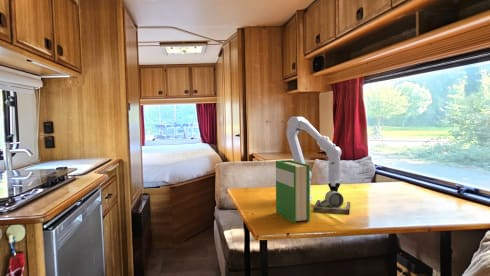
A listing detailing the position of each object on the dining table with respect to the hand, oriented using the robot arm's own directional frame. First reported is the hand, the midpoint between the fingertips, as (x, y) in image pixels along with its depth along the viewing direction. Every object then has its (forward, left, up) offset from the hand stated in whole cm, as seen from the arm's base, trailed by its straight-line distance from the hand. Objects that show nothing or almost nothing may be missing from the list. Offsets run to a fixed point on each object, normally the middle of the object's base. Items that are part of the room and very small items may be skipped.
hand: (334, 197), depth 183 cm
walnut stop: (0, -11, -3) cm, 11 cm away
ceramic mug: (-1, -7, -3) cm, 7 cm away
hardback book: (-16, -30, -3) cm, 34 cm away
